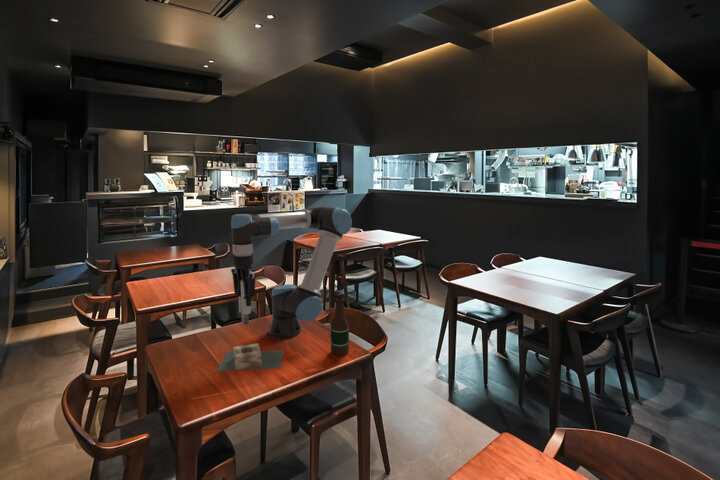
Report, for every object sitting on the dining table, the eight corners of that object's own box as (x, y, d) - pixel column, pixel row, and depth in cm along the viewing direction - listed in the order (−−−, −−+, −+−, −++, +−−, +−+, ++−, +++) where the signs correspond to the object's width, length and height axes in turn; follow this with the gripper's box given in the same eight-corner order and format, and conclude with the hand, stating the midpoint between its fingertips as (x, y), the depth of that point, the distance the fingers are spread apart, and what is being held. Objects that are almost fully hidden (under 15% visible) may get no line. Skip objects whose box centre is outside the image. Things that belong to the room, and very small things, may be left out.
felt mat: (284, 350, 170) (284, 350, 170) (279, 369, 154) (279, 368, 154) (227, 352, 168) (226, 351, 168) (216, 371, 152) (216, 370, 152)
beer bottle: (340, 346, 175) (340, 294, 170) (352, 352, 169) (352, 298, 165) (327, 352, 169) (326, 298, 165) (339, 358, 164) (339, 302, 160)
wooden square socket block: (258, 354, 166) (258, 343, 165) (261, 365, 156) (261, 353, 156) (233, 358, 162) (233, 346, 161) (235, 369, 153) (234, 357, 152)
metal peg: (248, 321, 158) (246, 278, 155) (249, 324, 156) (247, 280, 153) (241, 322, 157) (240, 279, 154) (242, 325, 155) (240, 280, 152)
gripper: (222, 253, 154) (225, 310, 158) (246, 258, 144) (249, 319, 148) (239, 250, 159) (241, 305, 163) (263, 255, 150) (265, 314, 154)
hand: (245, 312), depth 156 cm, fingers closed on metal peg, 2 cm apart
